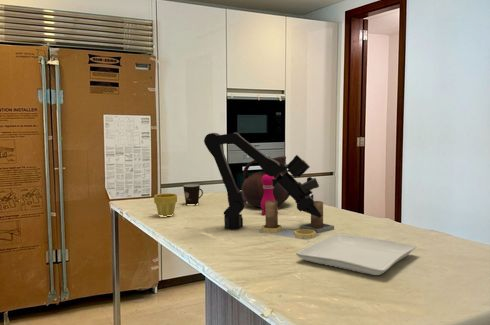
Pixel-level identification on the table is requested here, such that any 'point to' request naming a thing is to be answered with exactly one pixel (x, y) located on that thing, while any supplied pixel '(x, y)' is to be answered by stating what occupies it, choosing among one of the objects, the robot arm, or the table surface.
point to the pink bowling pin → (267, 191)
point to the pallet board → (290, 232)
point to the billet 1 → (271, 214)
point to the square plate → (356, 253)
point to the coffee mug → (192, 193)
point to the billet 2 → (315, 220)
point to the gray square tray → (308, 226)
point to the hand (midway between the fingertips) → (320, 215)
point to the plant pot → (165, 203)
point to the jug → (261, 185)
